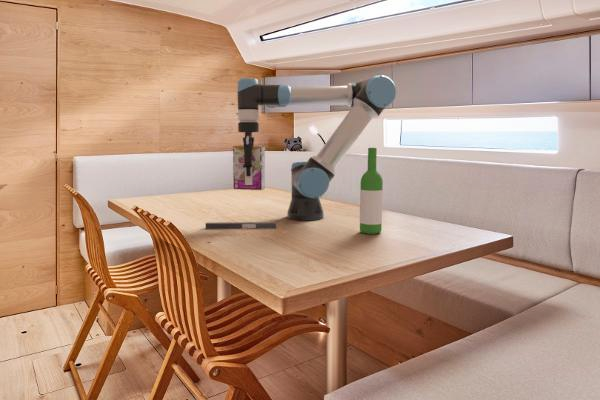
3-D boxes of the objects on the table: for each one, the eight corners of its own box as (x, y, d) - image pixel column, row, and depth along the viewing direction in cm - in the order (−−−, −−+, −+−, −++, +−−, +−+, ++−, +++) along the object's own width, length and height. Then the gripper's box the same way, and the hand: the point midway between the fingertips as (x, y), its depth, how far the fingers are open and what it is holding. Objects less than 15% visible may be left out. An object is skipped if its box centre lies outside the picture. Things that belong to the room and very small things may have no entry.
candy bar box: (233, 189, 175) (232, 145, 172) (237, 188, 180) (236, 145, 177) (261, 190, 173) (261, 145, 170) (265, 188, 177) (265, 145, 175)
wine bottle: (368, 235, 161) (369, 148, 156) (355, 231, 168) (356, 147, 163) (386, 233, 165) (388, 148, 160) (372, 229, 171) (374, 147, 167)
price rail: (276, 227, 175) (276, 222, 175) (276, 228, 173) (276, 223, 172) (206, 227, 174) (206, 222, 174) (205, 229, 172) (205, 223, 171)
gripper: (240, 122, 181) (241, 181, 185) (235, 121, 163) (237, 186, 166) (259, 122, 182) (260, 181, 185) (257, 121, 163) (258, 186, 167)
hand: (249, 183), depth 176 cm, fingers closed on candy bar box, 6 cm apart
